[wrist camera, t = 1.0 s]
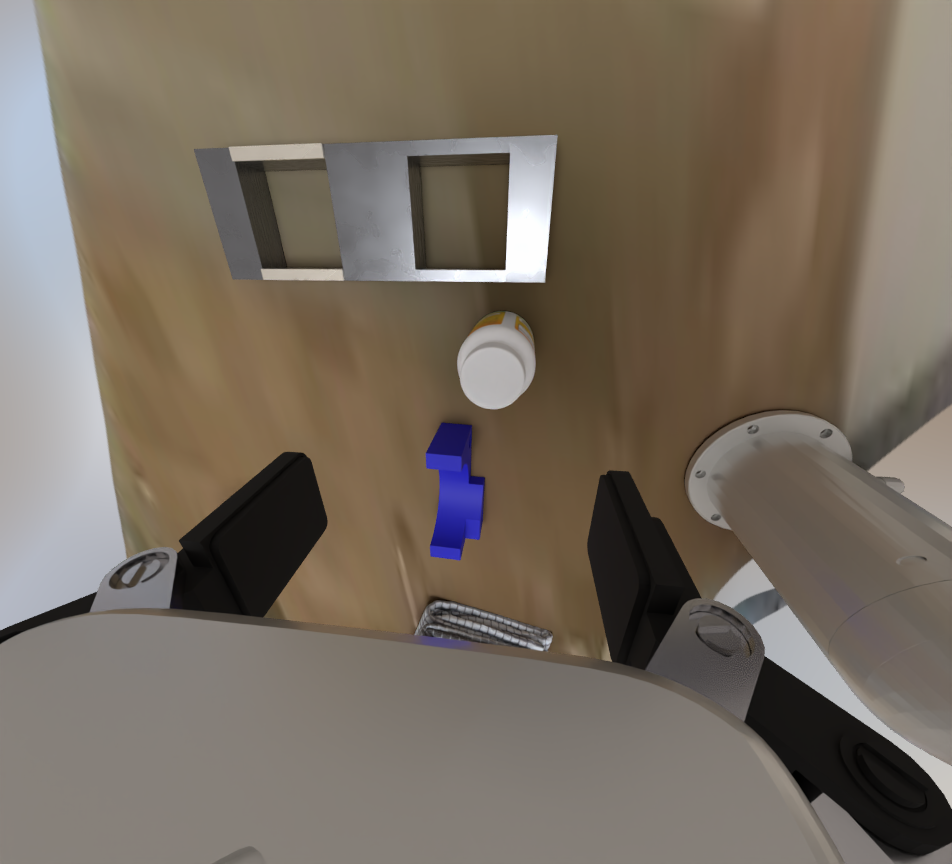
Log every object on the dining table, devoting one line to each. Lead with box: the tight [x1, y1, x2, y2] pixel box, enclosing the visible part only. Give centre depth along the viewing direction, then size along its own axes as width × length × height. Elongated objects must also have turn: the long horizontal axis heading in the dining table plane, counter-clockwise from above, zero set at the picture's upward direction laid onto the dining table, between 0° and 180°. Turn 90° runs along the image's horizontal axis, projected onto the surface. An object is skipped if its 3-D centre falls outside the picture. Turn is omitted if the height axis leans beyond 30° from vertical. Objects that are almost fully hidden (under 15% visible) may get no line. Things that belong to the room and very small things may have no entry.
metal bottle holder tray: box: [194, 135, 557, 282], centre depth 25 cm, size 24×8×3 cm, turn 90°
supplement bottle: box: [457, 311, 536, 409], centre depth 25 cm, size 5×5×10 cm
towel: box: [414, 600, 552, 651], centre depth 46 cm, size 15×18×8 cm
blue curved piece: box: [426, 423, 485, 560], centre depth 34 cm, size 12×4×6 cm, turn 178°
